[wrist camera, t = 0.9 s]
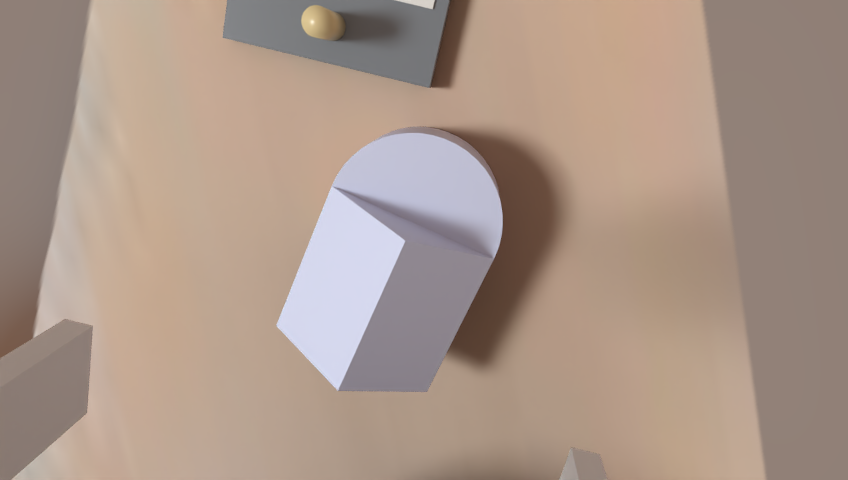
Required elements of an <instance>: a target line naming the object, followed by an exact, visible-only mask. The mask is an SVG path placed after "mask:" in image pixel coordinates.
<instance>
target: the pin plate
mask: <svg viewBox="0 0 848 480" xmlns="http://www.w3.org/2000/svg"><path fill="white" fill-rule="evenodd" d="M450 1H451V0H227V7H226V15H225V23H224V31H223V38H227V39H231V40H235V41H239V42H243V43H247V44H251V45H255V46H259V47H264V48H268V49H272V50H276V51H280V52H284V53H288V54H292V55H296V56H300V57H305V58H309V59H313V60H317V61H321V62H325V63H329V64H333V65H337V66H342V67H346V68H350V69H354V70H358V71H362V72H366V73H370V74H374V75H379V76H383V77H387V78H391V79H395V80H399V81H403V82H407V83H411V84H415V85H420V86H424V87H428V88H431V85H432V80H433V76H434V72H435V67H436V63H437V58H438V54H439V50H440V45H441V41H442V36H443V32H444V28H445V23H446V19H447V14H448V10H449V6H450Z"/></svg>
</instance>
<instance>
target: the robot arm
mask: <svg viewBox="0 0 848 480" xmlns="http://www.w3.org/2000/svg"><path fill="white" fill-rule="evenodd" d="M92 330H93V326H91V325H87V324H83V323H79V322H75V321H71V320H67V319H65V320H63V321H61V322H60V323H58V324H56V325H55V326H53V327H51V328H50V329H48V330H46V331H45V332H43V333H41V334H40V335H38V336H37V337H35V338H33V339H32V340H30V341H28V342H27V343H25V344H23V345H22V346H20V347H18V348H17V349H15V350H13V351H12V352H10V353H8V354H7V355H5V356H3V357H2V358H0V480H11V479H12V478H13V477H15V476H16V475H17V474H18V473H19V472H20V471H21V470H23V469H24V468H25V467H26V466H27V465H28V464H29V463H31V462H32V461H33V460H34V459H35V458H36V457H37V456H38V455H40V454H41V453H42V452H43V451H44V450H45V449H46V448H48V447H49V446H50V445H51V444H52V443H53V442H54V441H56V440H57V439H58V438H59V437H60V436H61V435H62V434H64V433H65V432H66V431H67V430H68V429H69V428H70V427H72V426H73V425H74V424H75V423H76V422H77V421H78V420H79V419H81V418H82V417H83V416H84V415H85V414H86V413H87V405H88V390H89V375H90V360H91V345H92ZM560 480H608V479H607V476H606V473H605V470H604V467H603V463H602V460H601V457H600V454H596V453H592V452H588V451H584V450H580V449H576V448H573V447H571V449H570V452H569V455H568V458H567V460H566V463H565V466H564V469H563V472H562V474H561V477H560Z"/></svg>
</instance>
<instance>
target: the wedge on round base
mask: <svg viewBox="0 0 848 480" xmlns="http://www.w3.org/2000/svg"><path fill="white" fill-rule="evenodd" d="M502 228H503V214H502V207H501V202H500V196H499V190H498V186H497V183H496V180H495V177H494V175H493V173H492V171H491V169H490V167H489V166H488V164H487V163H486V161H485V160H484V158H483V157H482V156H481V155H480V154H479V153H478V151H477V150H476V149H474V148H473V147H472V146H471V145H470V144H469V143H467V142H466V141H464V140H463V139H461V138H459V137H458V136H456V135H453V134H451V133H449V132H446V131H443V130H440V129H436V128H429V127H408V128H402V129H398V130H395V131H391V132H389V133H387V134H384V135H382V136H380V137H379V138H377V139H376V140H374V141H372V142H371V143H369V144H368V145H366V146H365V147H363V148H362V149H360V150H359V151H358V152H357V153H355V154H354V155H353V156H352V157H351V158H350V159H349V160H348V161H347V162H346V163H345V165H344V166H343V167H342V169H341V170H340V172H339V173H338V175H337V176H336V178H335V180H334V183H333V185H332V187H331V189H330V192H329V194H328V197H327V199H326V202H325V204H324V207H323V210H322V212H321V215H320V217H319V220H318V222H317V225H316V227H315V230H314V232H313V235H312V237H311V240H310V242H309V245H308V247H307V250H306V252H305V255H304V257H303V260H302V262H301V265H300V267H299V270H298V272H297V275H296V278H295V280H294V283H293V285H292V288H291V290H290V293H289V295H288V298H287V300H286V303H285V305H284V308H283V310H282V313H281V315H280V318H279V320H278V323H277V325H276V326H277V327H278V328H279V329H280V330H281V331H282V332H283V333H284V334H285V335H286V336H287V337H288V339H289V340H290V341H291V342H292V343H293V344H294V345H295V346H296V347H297V348H298V349H299V350H300V351H301V352H302V353H303V354H304V355H305V356H306V358H307V359H308V360H309V361H310V362H311V363H312V364H313V365H314V366H315V367H316V368H317V369H318V370H319V371H320V372H321V373H322V374H323V376H324V377H325V378H326V379H327V380H328V381H329V382H330V383H331V384H332V385H333V386H334V387H335V388H336V389H337V390H338V391H399V392H427V391H428V389H429V387H430V385H431V383H432V381H433V379H434V377H435V375H436V373H437V371H438V369H439V367H440V365H441V363H442V361H443V359H444V357H445V355H446V353H447V351H448V349H449V347H450V345H451V343H452V341H453V339H454V337H455V335H456V333H457V331H458V329H459V327H460V325H461V323H462V321H463V319H464V317H465V315H466V313H467V311H468V309H469V307H470V305H471V303H472V301H473V299H474V297H475V295H476V293H477V291H478V290H479V288H480V286H481V284H482V282H483V280H484V278H485V276H486V274H487V272H488V270H489V268H490V266H491V264H492V262H493V260H494V258H495V255H496V253H497V250H498V248H499V244H500V240H501V236H502Z"/></svg>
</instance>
